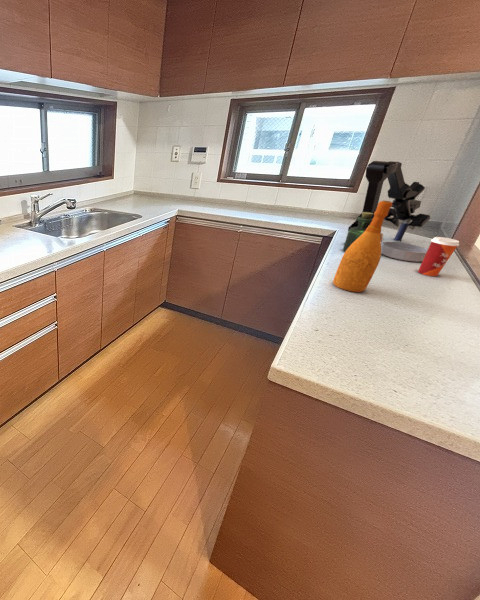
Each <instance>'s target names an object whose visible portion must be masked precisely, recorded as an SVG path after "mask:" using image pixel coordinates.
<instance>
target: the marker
mask: <svg viewBox="0 0 480 600" xmlns="http://www.w3.org/2000/svg"><path fill="white" fill-rule="evenodd" d="M411 222H412V221H411V220H409V219H407V220H401V223H400V225H399V228H398V230H397V232H396V234H395V235H394V238H393V240H394V241H396V242H402V239H403V237H404V235H405V234H406V231H407V229H408V228H409V226H408V225H409V224H410V223H411Z"/></svg>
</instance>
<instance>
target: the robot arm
mask: <svg viewBox="0 0 480 600" xmlns="http://www.w3.org/2000/svg"><path fill="white" fill-rule="evenodd" d="M402 165H403V163H402V162H400V161H393V160H390V161H389V160H388V161H385V160H372V161H371V162H370V163H368V164H367V166H366V168H365V178H366V180H367V182H368V185H367V189H366V194H365V198H364V202H363V207H362V211H361V213H360V214H358V216H357V217H356V219H357V218H358V217H362V212H369V213H373V215H372V216H371V219H373V218H374V216H375V215H374V212H375V211H376V209H377V206H378V203H379V202H380V197H381V193H382V189H383V185H384V181H386V179H387V181H388V185H389V189H388V190H387V198H388V199H392V201H391V202H392V206H391V208H390V209H389V211H388V215H387V216H386V217H385V218H384V220H383V221H386V222H388V223H389V224H391V225H393V226H394V227H400V221H403V220H407V219H409V220H411V222H410V224H409V225H408V228H409V229H410V230H411V231H413V230H414V229H415V228H416V227H418V228H422V227H423V226H424V225H425V224H426V223H428V221H430V220H431V215H430V214H427V213H419V214H415V212H416V210H417V209H420V207H421V203H422V201H421V200H418V199H417V198H418V196H420V195H421V194H422V193H423V192H424V191H425V189H426V187H425V186H424V185H423V184H421V183H420V181H413V182H412V183H411V184H410V185H409V184H408V183H406V182H405V178H404V174H403V169H402ZM356 219H355V221H353V223H352V224H350V226H348V229H347V232H348V231H349V229H351V228H353V227H357V226H358V222H359V221H357V220H356ZM370 224H371V222H370V223H369V224H368V225H367V226H366V228H368V226H369V225H370ZM344 244H345V242H344ZM344 244H343V245H344Z"/></svg>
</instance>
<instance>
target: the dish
mask: <svg viewBox="0 0 480 600" xmlns="http://www.w3.org/2000/svg"><path fill="white" fill-rule="evenodd" d="M427 250H428V248H427V247H424V246H421V245H417V244H413V243H408V242H402V241H390V240H389V241H388V240H387V241H382V242H381V255H383V256H386V257H388V258H391V259H394V260H399V261H404V262H415V263H416V262H417V263H418V262H422V261H423V259H424V257H425V255H426V252H427Z"/></svg>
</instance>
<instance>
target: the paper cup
mask: <svg viewBox="0 0 480 600" xmlns="http://www.w3.org/2000/svg"><path fill="white" fill-rule="evenodd" d="M459 246H460V241H459V239H458V240H457V239H455V238H449V237H443V236H434V237H433V238H432V239H431V240H430V244H429V246H428V248H427V249H428V250H427V252H426V255H425V257H424V259H423V261H421V264H420V266H419V268H418V270H417V272H418V274H421V275H424V276H428V277H437V276H438V275H439V274H440V273H441V271H442V269H443V268H444V267H445V265H446V264H447V263H448V261H449V260H450V258H451V256H452V255H453V253H454V252H455V251H456V249H457V247H459Z"/></svg>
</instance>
